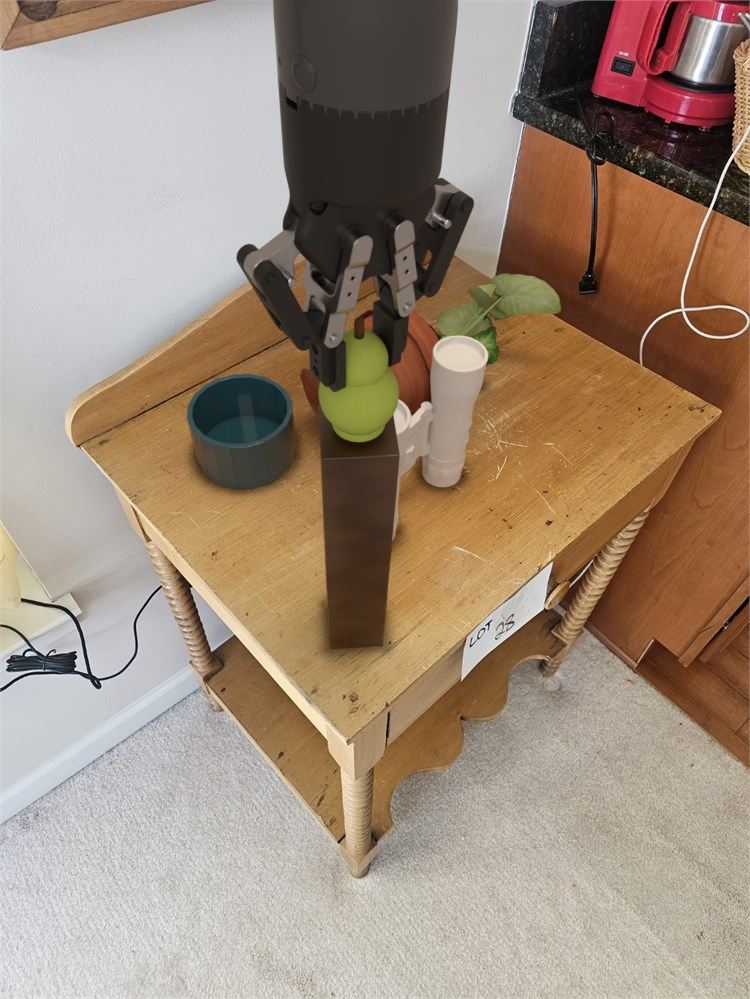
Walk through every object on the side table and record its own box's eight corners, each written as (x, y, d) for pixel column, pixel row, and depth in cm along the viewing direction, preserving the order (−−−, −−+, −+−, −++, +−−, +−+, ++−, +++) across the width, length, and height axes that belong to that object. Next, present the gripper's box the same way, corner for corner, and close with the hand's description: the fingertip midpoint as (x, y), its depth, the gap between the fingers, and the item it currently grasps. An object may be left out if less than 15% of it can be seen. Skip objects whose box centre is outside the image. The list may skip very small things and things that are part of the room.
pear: (322, 453, 46) (316, 349, 39) (318, 397, 49) (312, 292, 42) (401, 449, 46) (409, 345, 39) (392, 394, 49) (398, 289, 42)
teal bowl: (194, 491, 80) (183, 450, 74) (200, 418, 87) (190, 375, 81) (297, 486, 80) (293, 444, 75) (294, 414, 88) (291, 371, 82)
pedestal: (329, 650, 68) (321, 459, 46) (326, 603, 71) (318, 403, 49) (382, 646, 68) (400, 455, 46) (377, 599, 72) (391, 400, 50)
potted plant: (372, 490, 83) (568, 350, 95) (360, 396, 71) (587, 250, 83) (294, 421, 90) (485, 300, 103) (272, 326, 78) (491, 202, 91)
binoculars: (437, 448, 85) (455, 327, 71) (473, 471, 83) (499, 352, 69) (339, 532, 77) (337, 415, 62) (376, 561, 74) (383, 446, 60)
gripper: (438, 9, 35) (412, 301, 48) (174, 68, 29) (228, 378, 43) (544, 62, 31) (483, 362, 45) (264, 140, 26) (292, 455, 39)
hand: (358, 369), depth 44 cm, fingers closed on pear, 3 cm apart
